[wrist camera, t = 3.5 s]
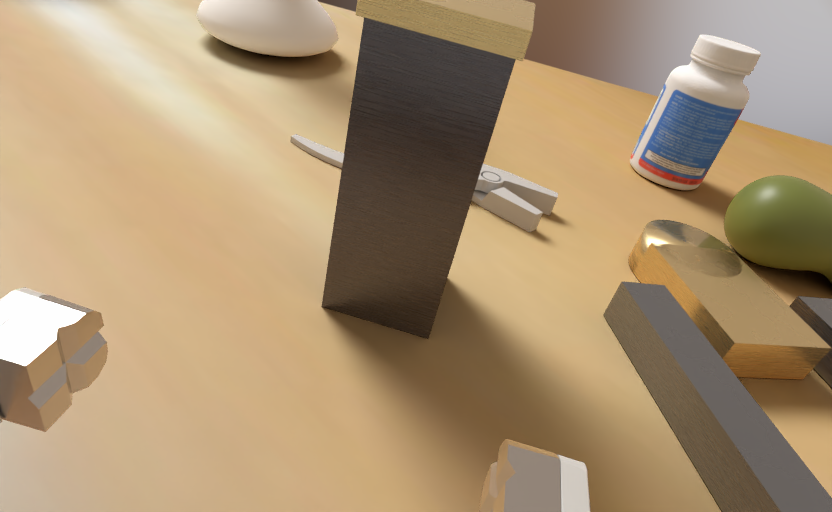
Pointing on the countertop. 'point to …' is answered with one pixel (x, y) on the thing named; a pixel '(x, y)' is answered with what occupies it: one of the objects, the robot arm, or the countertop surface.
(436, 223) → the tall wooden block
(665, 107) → the pill bottle
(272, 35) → the flower in vase
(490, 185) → the pliers
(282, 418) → the countertop surface
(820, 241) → the pear
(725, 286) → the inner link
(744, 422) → the grey metal bars
